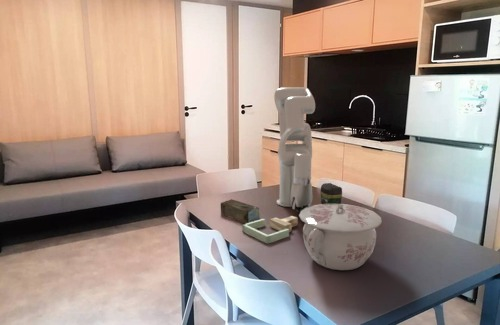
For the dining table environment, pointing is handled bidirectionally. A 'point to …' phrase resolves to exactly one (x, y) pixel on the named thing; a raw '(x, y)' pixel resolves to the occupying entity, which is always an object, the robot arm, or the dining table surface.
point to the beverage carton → (240, 211)
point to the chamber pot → (339, 234)
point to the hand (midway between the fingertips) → (301, 219)
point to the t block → (284, 223)
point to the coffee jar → (330, 194)
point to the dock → (251, 230)
